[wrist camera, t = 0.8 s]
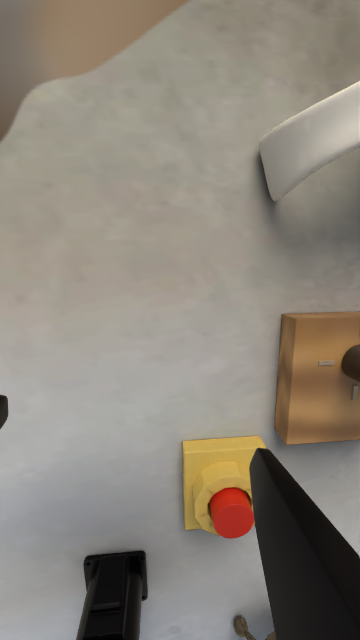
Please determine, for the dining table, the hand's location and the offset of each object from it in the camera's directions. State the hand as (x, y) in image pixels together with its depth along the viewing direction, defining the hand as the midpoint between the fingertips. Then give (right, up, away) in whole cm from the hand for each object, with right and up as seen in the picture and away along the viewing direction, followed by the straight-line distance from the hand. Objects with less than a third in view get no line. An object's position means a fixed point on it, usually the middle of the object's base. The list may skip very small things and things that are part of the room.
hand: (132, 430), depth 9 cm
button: (+6, -13, +14) cm, 20 cm away
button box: (+6, -12, +17) cm, 22 cm away
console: (+16, -1, +16) cm, 23 cm away
